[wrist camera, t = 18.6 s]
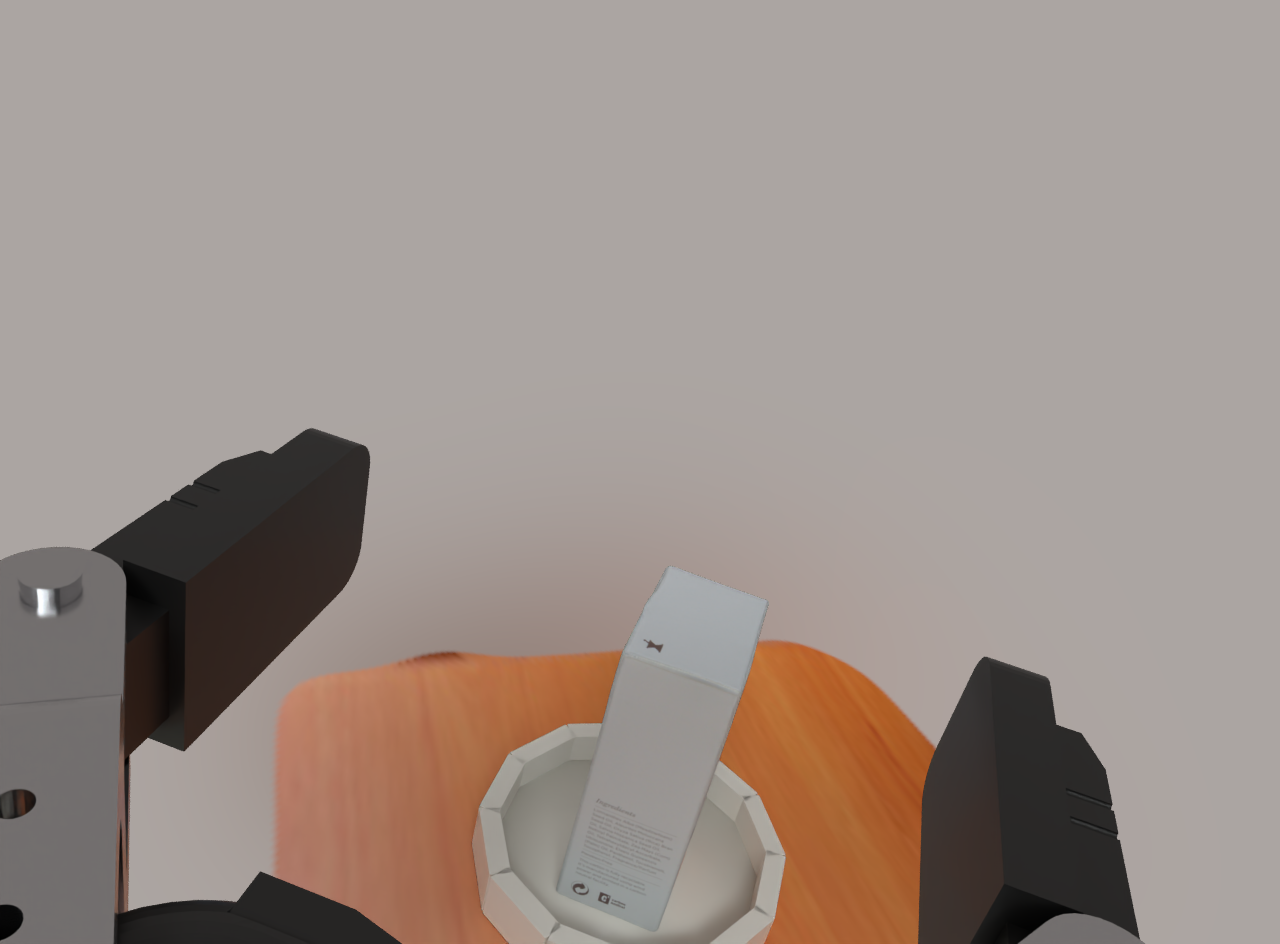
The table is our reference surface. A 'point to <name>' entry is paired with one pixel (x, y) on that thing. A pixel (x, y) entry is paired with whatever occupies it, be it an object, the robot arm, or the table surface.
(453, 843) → the table surface
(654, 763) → the skincare box
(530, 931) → the bowl
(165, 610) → the robot arm
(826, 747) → the table surface
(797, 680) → the table surface
